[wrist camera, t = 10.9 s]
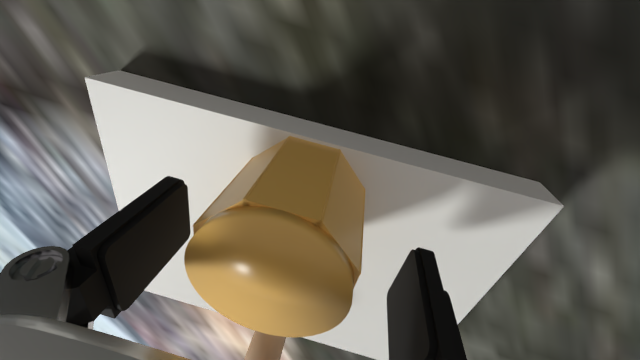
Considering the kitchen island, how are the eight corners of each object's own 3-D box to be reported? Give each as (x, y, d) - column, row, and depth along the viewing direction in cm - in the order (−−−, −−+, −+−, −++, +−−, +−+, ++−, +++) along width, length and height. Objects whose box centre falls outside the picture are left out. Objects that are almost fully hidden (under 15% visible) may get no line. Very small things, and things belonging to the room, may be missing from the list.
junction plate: (539, 182, 13) (643, 284, 8) (412, 343, 22) (424, 442, 17) (119, 70, 14) (-27, 99, 9) (156, 268, 22) (93, 341, 17)
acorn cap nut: (376, 158, 12) (378, 251, 7) (344, 246, 15) (330, 353, 10) (254, 125, 12) (176, 194, 7) (246, 219, 15) (188, 311, 10)
